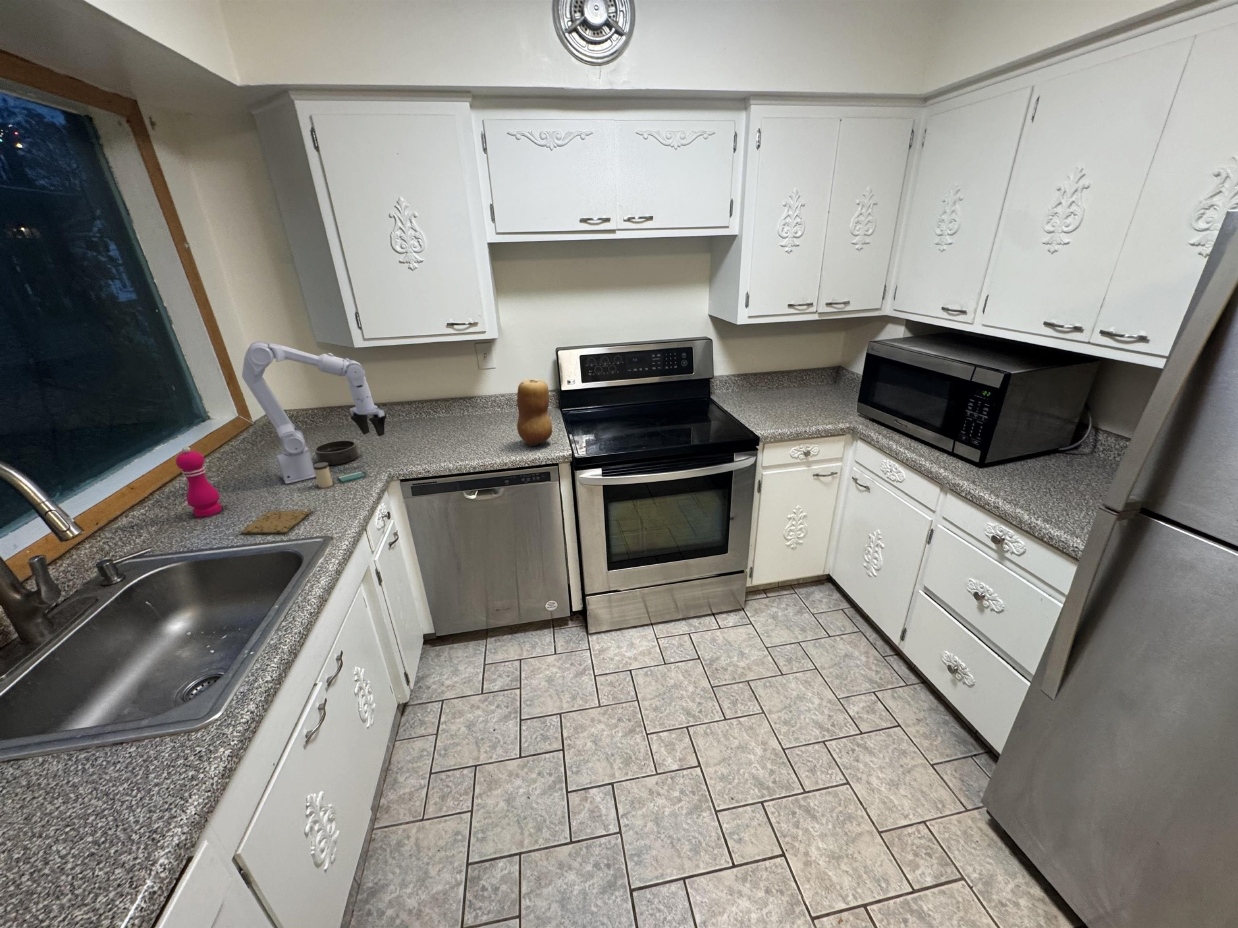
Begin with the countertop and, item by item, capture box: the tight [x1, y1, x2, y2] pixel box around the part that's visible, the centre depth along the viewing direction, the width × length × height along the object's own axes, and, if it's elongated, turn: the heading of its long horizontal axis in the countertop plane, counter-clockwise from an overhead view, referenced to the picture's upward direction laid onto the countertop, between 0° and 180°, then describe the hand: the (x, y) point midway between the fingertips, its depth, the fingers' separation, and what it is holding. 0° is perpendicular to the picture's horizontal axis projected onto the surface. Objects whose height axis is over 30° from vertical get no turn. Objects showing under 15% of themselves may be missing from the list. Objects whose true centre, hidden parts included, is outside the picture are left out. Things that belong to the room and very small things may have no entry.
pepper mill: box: [175, 446, 223, 518], centre depth 141 cm, size 7×7×20 cm
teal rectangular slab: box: [337, 470, 366, 483], centre depth 167 cm, size 7×5×1 cm
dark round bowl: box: [313, 439, 359, 466], centre depth 181 cm, size 13×13×5 cm
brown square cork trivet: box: [241, 510, 312, 535], centre depth 138 cm, size 12×12×1 cm
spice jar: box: [313, 462, 333, 489], centre depth 160 cm, size 4×4×7 cm
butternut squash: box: [516, 378, 553, 447], centre depth 191 cm, size 14×13×25 cm
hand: (373, 434), depth 176 cm, fingers open, 7 cm apart
